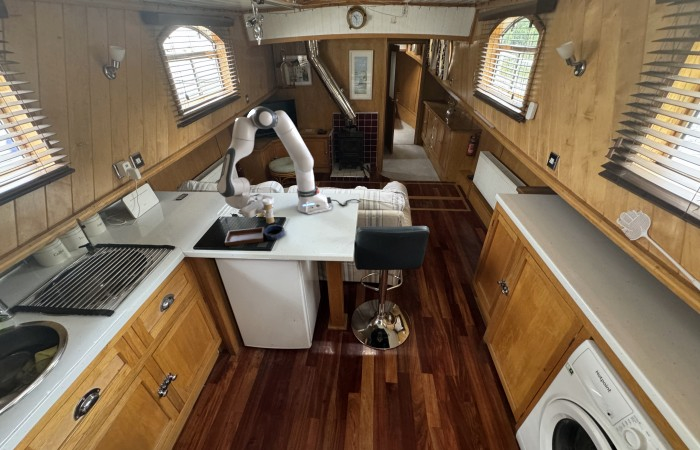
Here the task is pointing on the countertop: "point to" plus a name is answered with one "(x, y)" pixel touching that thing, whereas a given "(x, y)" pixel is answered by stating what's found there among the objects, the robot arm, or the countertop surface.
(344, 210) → the countertop surface
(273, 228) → the enamel pot
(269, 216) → the sprinkles bottle
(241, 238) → the tray
